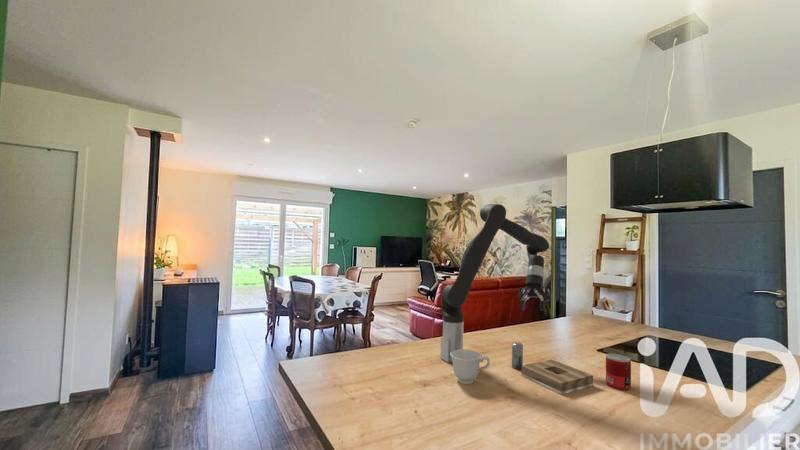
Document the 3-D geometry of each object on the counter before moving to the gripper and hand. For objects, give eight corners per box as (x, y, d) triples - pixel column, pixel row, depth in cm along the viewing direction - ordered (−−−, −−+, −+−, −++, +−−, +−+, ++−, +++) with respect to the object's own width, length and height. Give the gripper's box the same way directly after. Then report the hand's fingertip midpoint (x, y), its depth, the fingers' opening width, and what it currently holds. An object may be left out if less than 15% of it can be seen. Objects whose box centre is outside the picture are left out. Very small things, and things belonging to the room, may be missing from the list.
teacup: (490, 390, 119) (491, 362, 120) (448, 385, 122) (449, 358, 123) (488, 377, 131) (488, 351, 131) (450, 373, 134) (450, 348, 134)
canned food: (630, 392, 120) (630, 362, 121) (604, 386, 125) (604, 356, 126) (631, 385, 126) (631, 356, 127) (606, 380, 131) (606, 351, 132)
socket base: (560, 394, 117) (560, 383, 117) (521, 375, 133) (521, 365, 133) (593, 386, 125) (593, 375, 125) (552, 368, 141) (552, 359, 141)
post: (517, 370, 139) (517, 346, 139) (509, 366, 143) (509, 343, 143) (524, 368, 141) (525, 344, 141) (517, 365, 145) (517, 341, 145)
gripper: (517, 274, 162) (513, 306, 155) (546, 273, 152) (544, 307, 145) (524, 279, 166) (521, 311, 159) (553, 279, 156) (551, 313, 150)
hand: (532, 309), depth 152 cm, fingers open, 8 cm apart
